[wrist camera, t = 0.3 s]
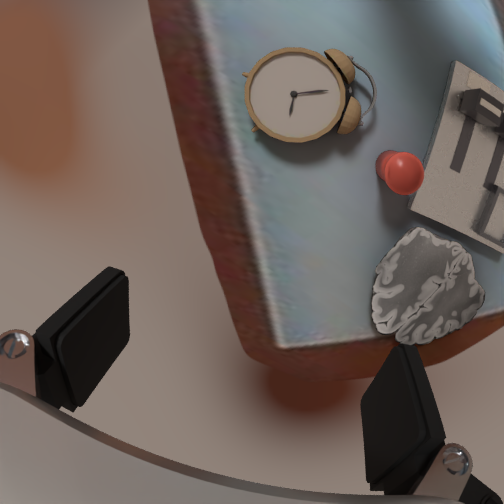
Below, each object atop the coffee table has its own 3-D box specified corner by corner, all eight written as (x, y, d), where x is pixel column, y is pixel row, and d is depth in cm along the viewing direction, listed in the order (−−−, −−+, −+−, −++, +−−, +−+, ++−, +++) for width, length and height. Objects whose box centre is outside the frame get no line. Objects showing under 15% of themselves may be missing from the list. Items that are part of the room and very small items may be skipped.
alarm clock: (234, 56, 30) (368, 37, 25) (249, 63, 34) (367, 47, 29) (249, 148, 34) (384, 137, 29) (263, 145, 38) (381, 135, 33)
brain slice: (338, 296, 43) (339, 308, 40) (413, 202, 36) (421, 208, 33) (423, 351, 45) (427, 363, 42) (491, 277, 37) (500, 286, 35)
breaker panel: (451, 61, 27) (461, 58, 25) (540, 125, 27) (552, 127, 24) (406, 206, 36) (414, 212, 33) (498, 249, 35) (508, 257, 33)
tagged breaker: (464, 90, 27) (481, 88, 23) (488, 105, 27) (505, 104, 23) (459, 110, 28) (475, 110, 24) (483, 125, 28) (500, 126, 24)
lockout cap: (379, 142, 34) (393, 145, 28) (412, 156, 34) (429, 162, 28) (368, 176, 36) (379, 186, 30) (400, 189, 35) (415, 201, 30)
